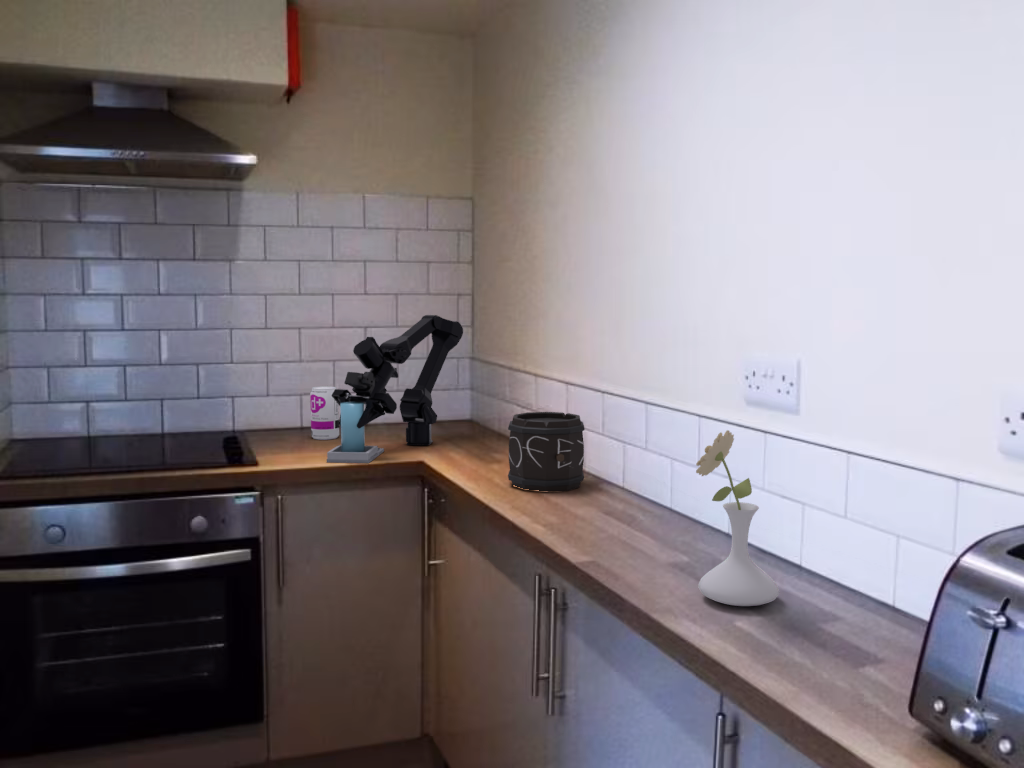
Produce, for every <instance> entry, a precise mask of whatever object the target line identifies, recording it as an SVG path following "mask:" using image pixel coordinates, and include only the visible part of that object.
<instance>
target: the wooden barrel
mask: <svg viewBox="0 0 1024 768" xmlns="http://www.w3.org/2000/svg"><path fill="white" fill-rule="evenodd" d="M507 430H508V431H509V441H508V465H509V471H508V475H507V478H508V481H510V482H511V483H512V484H511V485H512V486H513V485H515V486H517V487H520V488H523V489H529V490H539V491H562V492H568V491H573V490H575V489H578V488H580V487H581V484H582V483H581V482H583V481H584V480H585V474H584V464H585V463H584V461H585V443H584V442H585V441H584V433H583V431H585V425H584V421H582V420H581V417H580V415H579V414H574V413H569V412H568V413H565V412H562V411H561V412H559V411H557V412H556V411H534V412H533V411H531V412H523V413H522V412H521V413H516V414H513V416H512V419H511V420H510V421H509V423H508V427H507Z"/></svg>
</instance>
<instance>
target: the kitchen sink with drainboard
mask: <svg viewBox="0 0 1024 768" xmlns="http://www.w3.org/2000/svg"><path fill="white" fill-rule="evenodd" d="M384 452H385V448H384V447H383V448H381V447H378V445H365V451H363V452H342V451H341V444H339V445H337V446H335V447H333V448H331V449H330V450H329V451H327V453H326V457H327V458H326V463H335V464H336V463H338V464H339V463H340V464H343V463H345V464H349V463H350V464H369V463H371V462H372V461H374V460H375V459H376V458H377V457H378V456H380V455H381V454H383V453H384Z"/></svg>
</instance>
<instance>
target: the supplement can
mask: <svg viewBox="0 0 1024 768" xmlns="http://www.w3.org/2000/svg"><path fill="white" fill-rule="evenodd" d="M335 389H337V387H336V386H331V385H329V386H328V385H327V386H326V385H325V386H323V385H322V386H313V387H312V388H311V391H310V393H309V394H310V397H309V399H310V401H309V403H310V404H309V405H310V437H312V438H313V440H317V441H318V440H319V441H320V440H321V441H323V440H325V441H327V440H335V439H337V438H338V437H339V436H340V425H339V419H340V411H339V410H340V409H339V408H340V406H339V404H338V403H337V402H336V401H335V400H334V398H333V397H332V394H333V392H334V390H335Z"/></svg>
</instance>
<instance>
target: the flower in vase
mask: <svg viewBox="0 0 1024 768" xmlns="http://www.w3.org/2000/svg"><path fill="white" fill-rule="evenodd" d="M734 436H735V434H733V433H732V432H731V431H730V430H728V429H727V430H726V431H725V432H724V434H723V432H722V431H721V432H719V433H718V435H717V436H716V438H715V439H714V440H713V443H712V445H706V447H705V448H704V453H705V454H703V455H701V457H700V458H699V460H698V461H697V462H696V465H695V466H697V467H698V468H696V471H695V473H696V474H698V475H699V476H700V475H701V477H704V476H708V475H710V473H712V472H713V471H715V469H718V468H719V467H720V465H721V464H723V466H724V468H725V471H726V473H727V477H728V480H729V483H730V486H724V487H722V488H720V489H719V490H717V491H716V492H715V493H714V495H713V497H712V499H711V501H713V502H723V501H724V500H725V499H726V498H728V496H729V495H730V493H731V492H732V494H733V496H734V499H735V502H733V501H732V502H727V503H724V504H722V508H723V509H724V510H725V512H726V514H727V516H728V519H729V522H730V529H731V546H730V547H731V549H730V553H729V555H728V556H727V558H726V559H725V560H723V561H721V562H720V563H719V564H717V565H716V566H714V567H713V568H712V569H710V570H709V571H707V572H706V573H705V574H704V575H703V576H702V577H701V578H700V580H699V582H698V585H697V587H698V589H699V591H700V593H701V594H702V595H703V596H704V597H706V598H708V599H710V600H712V601H715V602H718V603H721V604H724V605H728V606H729V605H730V606H736V607H737V606H738V607H754V606H757V607H758V606H761V605H764V604H768V603H771V602H773V601H775V600H776V599H777V598H778V596H779V595H780V589H779V586H778V584H777V583H776V581H774V579H773V578H772V577H771V576H770V575H769V574H768V573H767V572H765V571H764V570H763V569H762V568H761V567H759V566H758V565H757V564H756V563H755V562H754V561H753V559H752V558H751V557H750V554H749V547H748V546H749V545H748V542H749V541H748V540H749V531H750V527H751V523H752V519H753V517H754V516H755V514H756V512H758V511H759V509H760V507H759V506H758V505H757V504H753V503H751V502H750V503H749V502H740V499H743V498H745V497H749V496H751V494H752V492H753V491H752V489H753V488H752V485H751V480H750V478H749V477H748V478H746V479H744V480H743V481H741V482H739V483H738V484H736V485H735V486H734V483H733V479H732V476H731V473H730V469H729V467H728V465H727V462H726V461H725V459H726V457H727V456H728V455H729V453H730V449H731V448H732V446H733V443H734V440H735V438H734Z"/></svg>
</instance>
